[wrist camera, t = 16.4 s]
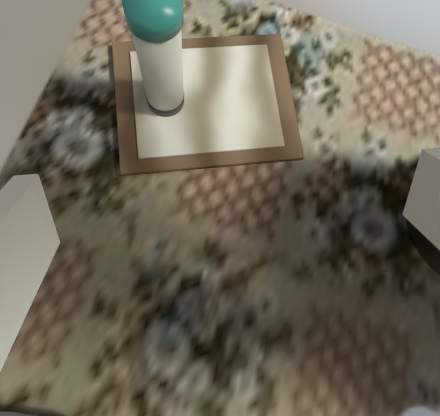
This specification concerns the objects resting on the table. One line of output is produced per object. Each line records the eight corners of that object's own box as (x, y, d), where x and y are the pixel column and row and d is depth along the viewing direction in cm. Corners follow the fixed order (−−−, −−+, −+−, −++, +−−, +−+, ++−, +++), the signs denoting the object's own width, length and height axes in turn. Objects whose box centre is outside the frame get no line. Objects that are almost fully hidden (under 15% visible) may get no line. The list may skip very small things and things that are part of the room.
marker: (184, 81, 40) (180, -28, 26) (186, 117, 39) (184, 23, 25) (144, 83, 39) (120, -28, 26) (146, 118, 38) (122, 24, 25)
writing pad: (279, 37, 43) (280, 32, 42) (302, 159, 40) (304, 156, 39) (112, 45, 41) (111, 41, 40) (121, 175, 37) (120, 173, 37)
